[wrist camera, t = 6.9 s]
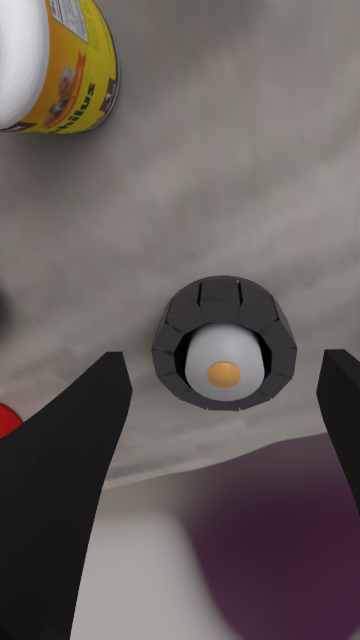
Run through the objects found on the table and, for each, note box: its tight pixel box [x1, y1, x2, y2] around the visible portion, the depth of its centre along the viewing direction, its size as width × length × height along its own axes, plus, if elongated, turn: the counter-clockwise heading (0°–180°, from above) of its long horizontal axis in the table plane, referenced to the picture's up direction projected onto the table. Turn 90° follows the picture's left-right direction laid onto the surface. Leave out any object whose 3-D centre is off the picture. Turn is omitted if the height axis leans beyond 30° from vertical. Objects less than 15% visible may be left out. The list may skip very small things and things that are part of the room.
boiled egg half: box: [185, 322, 264, 401], centre depth 19 cm, size 5×5×4 cm
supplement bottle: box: [0, 0, 120, 134], centre depth 10 cm, size 6×6×10 cm
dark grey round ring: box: [151, 276, 297, 411], centre depth 20 cm, size 9×9×4 cm
